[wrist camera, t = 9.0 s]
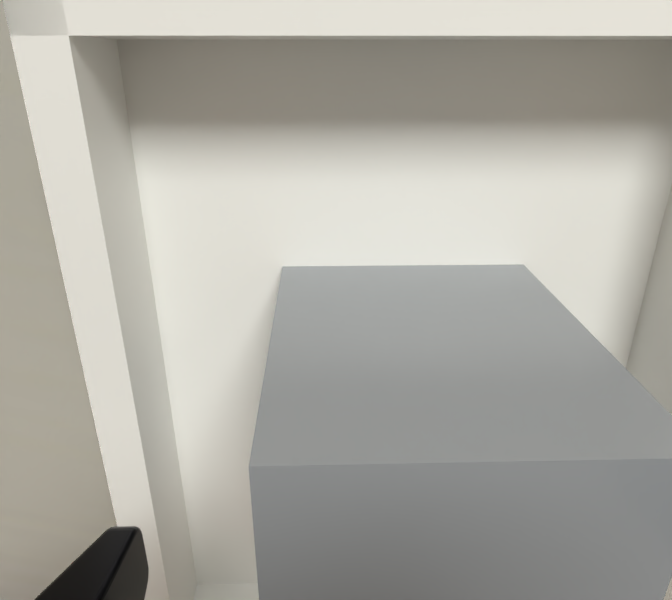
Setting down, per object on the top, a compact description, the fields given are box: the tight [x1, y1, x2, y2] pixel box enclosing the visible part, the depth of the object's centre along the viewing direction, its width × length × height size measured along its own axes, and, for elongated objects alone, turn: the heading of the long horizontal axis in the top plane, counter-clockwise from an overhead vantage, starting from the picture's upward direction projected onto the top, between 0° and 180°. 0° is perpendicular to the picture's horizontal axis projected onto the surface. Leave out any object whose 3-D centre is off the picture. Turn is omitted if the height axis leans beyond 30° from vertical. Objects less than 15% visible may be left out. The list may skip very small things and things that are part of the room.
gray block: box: [249, 264, 672, 600], centre depth 10 cm, size 5×5×6 cm
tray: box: [2, 0, 672, 600], centre depth 12 cm, size 15×12×3 cm
